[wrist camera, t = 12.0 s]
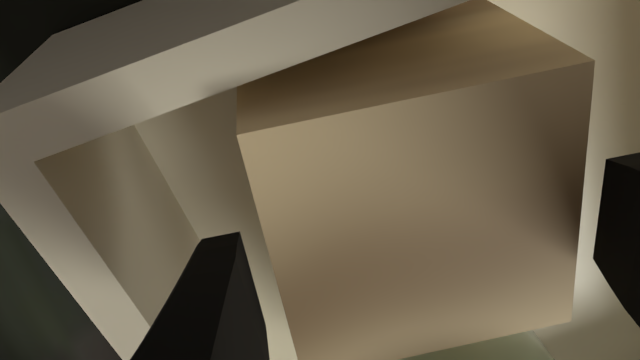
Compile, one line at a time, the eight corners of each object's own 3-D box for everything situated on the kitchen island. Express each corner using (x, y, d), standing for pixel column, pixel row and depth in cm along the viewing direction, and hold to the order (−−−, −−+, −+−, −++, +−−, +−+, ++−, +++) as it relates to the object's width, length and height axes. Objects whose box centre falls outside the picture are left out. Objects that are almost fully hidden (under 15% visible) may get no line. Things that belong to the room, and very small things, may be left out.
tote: (52, 35, 12) (-55, 133, 8) (672, -203, 11) (945, -243, 7) (315, 473, 21) (335, 632, 16) (668, 358, 20) (786, 493, 16)
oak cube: (237, 34, 12) (235, 135, 7) (466, -12, 12) (595, 60, 8) (284, 224, 14) (302, 379, 10) (471, 184, 14) (571, 321, 10)
